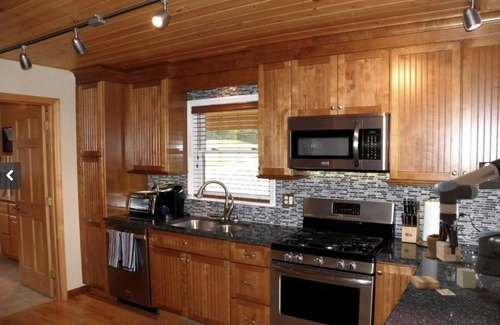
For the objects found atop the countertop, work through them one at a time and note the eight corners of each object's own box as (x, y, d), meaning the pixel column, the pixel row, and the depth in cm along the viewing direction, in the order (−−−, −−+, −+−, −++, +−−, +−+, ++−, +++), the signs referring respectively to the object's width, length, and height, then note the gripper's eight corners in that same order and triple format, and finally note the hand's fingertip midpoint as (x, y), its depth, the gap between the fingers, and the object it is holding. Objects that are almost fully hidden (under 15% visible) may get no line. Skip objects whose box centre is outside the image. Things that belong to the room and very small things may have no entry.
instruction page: (447, 289, 184) (447, 288, 184) (456, 295, 176) (456, 294, 176) (435, 289, 184) (435, 288, 184) (442, 295, 176) (442, 294, 176)
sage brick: (468, 284, 192) (469, 268, 192) (475, 288, 186) (475, 271, 186) (456, 284, 192) (456, 268, 192) (462, 288, 186) (462, 271, 186)
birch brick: (452, 257, 193) (452, 241, 193) (460, 261, 185) (460, 244, 185) (436, 257, 194) (436, 241, 194) (443, 261, 186) (443, 244, 186)
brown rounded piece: (429, 260, 238) (429, 236, 238) (421, 255, 250) (421, 232, 250) (453, 260, 237) (454, 236, 237) (444, 255, 249) (444, 232, 249)
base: (430, 281, 195) (430, 276, 195) (440, 288, 184) (440, 282, 184) (409, 281, 196) (409, 275, 196) (417, 288, 185) (417, 282, 185)
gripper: (431, 209, 200) (431, 253, 200) (450, 215, 179) (450, 264, 179) (445, 209, 199) (446, 253, 200) (466, 215, 179) (466, 264, 179)
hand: (448, 258), depth 190 cm, fingers closed on birch brick, 8 cm apart
